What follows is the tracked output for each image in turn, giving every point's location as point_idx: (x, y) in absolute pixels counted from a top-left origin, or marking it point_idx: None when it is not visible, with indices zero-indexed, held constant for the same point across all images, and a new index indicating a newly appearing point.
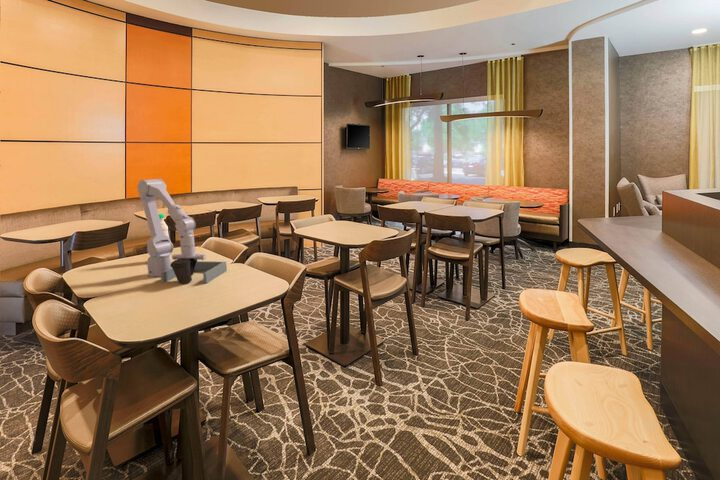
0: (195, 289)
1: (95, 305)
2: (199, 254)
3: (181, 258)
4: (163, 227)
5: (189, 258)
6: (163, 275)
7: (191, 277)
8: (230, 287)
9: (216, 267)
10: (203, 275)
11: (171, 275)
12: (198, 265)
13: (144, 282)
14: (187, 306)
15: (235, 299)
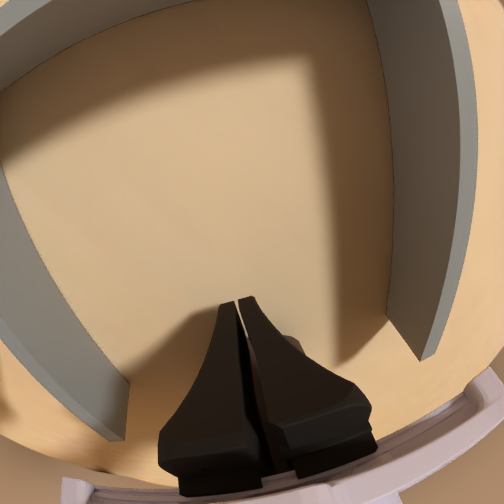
0: (376, 374)
1: (173, 484)
2: (455, 455)
3: None
4: None
5: (298, 486)
6: (122, 424)
7: (298, 349)
8: (487, 293)
9: (473, 191)
10: (413, 351)
11: (79, 350)
12: (53, 27)
13: (43, 392)
14: (400, 421)
15: (488, 347)
